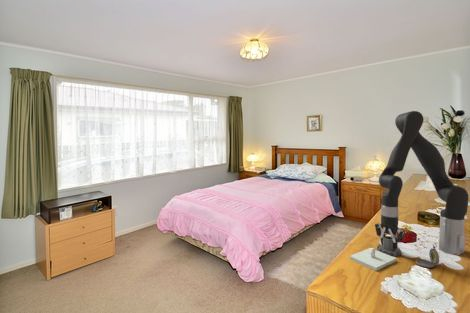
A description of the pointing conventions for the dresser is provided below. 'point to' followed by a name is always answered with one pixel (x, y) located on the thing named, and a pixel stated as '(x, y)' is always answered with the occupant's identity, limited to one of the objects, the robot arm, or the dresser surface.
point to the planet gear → (388, 247)
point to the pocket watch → (432, 254)
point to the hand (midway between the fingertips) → (388, 246)
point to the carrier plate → (373, 259)
